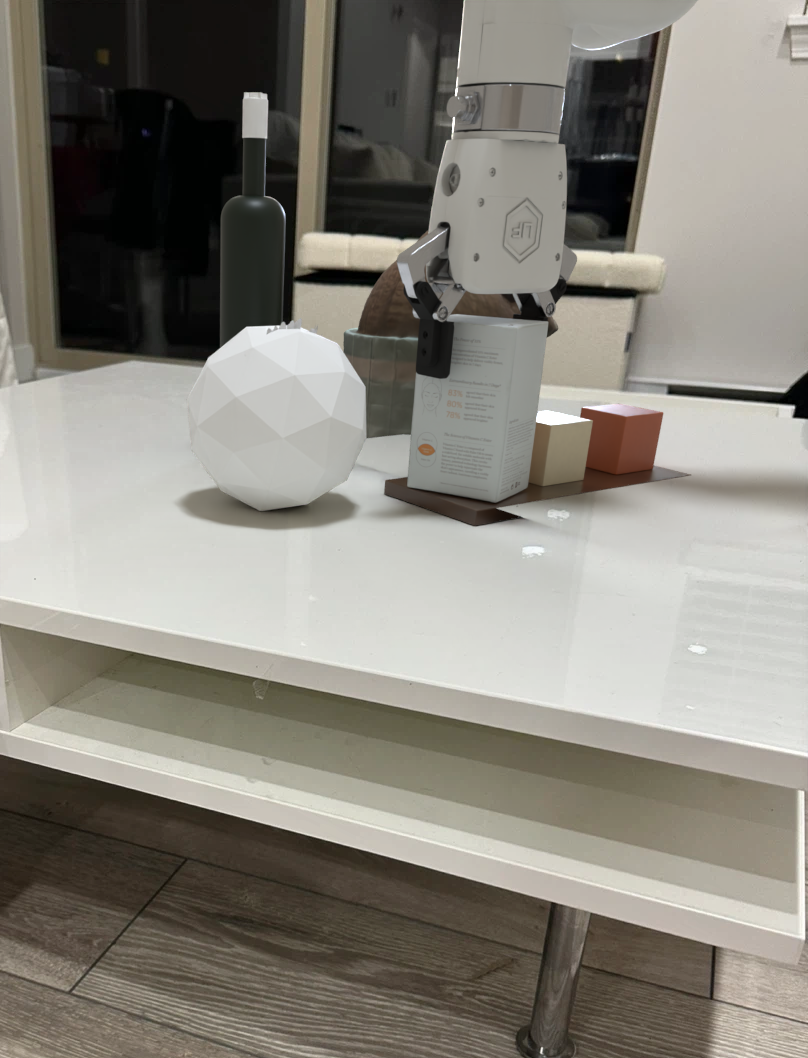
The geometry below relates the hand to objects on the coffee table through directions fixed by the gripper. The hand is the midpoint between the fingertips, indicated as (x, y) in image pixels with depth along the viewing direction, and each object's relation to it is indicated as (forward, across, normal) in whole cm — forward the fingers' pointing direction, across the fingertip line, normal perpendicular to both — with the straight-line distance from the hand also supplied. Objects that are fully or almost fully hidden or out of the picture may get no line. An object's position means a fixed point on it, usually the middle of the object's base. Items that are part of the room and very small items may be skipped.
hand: (479, 372), depth 82 cm
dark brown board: (+10, +9, 0) cm, 14 cm away
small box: (+9, 0, 0) cm, 9 cm away
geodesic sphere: (+10, -14, +7) cm, 19 cm away
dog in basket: (+10, +21, +26) cm, 35 cm away
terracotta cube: (+9, +18, 0) cm, 20 cm away
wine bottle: (+10, -5, +25) cm, 28 cm away
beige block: (+9, +9, 0) cm, 13 cm away
